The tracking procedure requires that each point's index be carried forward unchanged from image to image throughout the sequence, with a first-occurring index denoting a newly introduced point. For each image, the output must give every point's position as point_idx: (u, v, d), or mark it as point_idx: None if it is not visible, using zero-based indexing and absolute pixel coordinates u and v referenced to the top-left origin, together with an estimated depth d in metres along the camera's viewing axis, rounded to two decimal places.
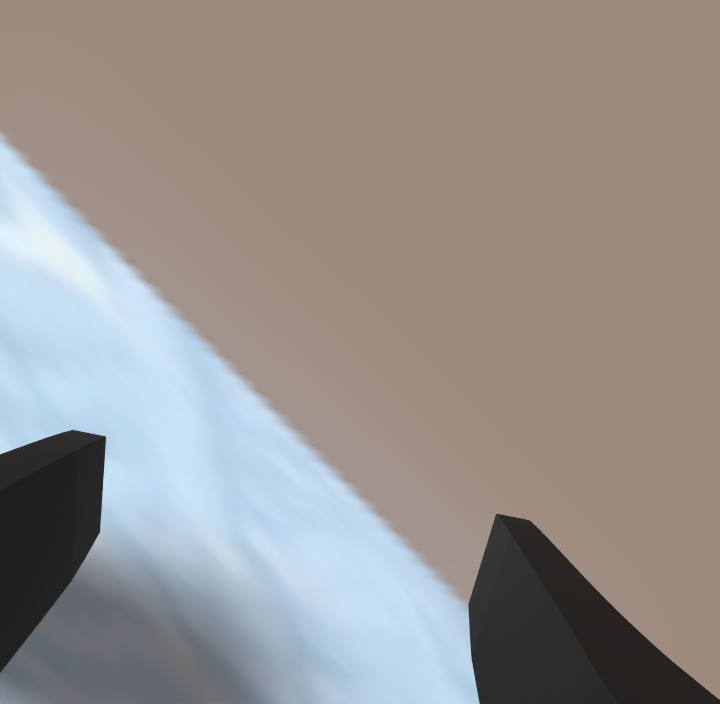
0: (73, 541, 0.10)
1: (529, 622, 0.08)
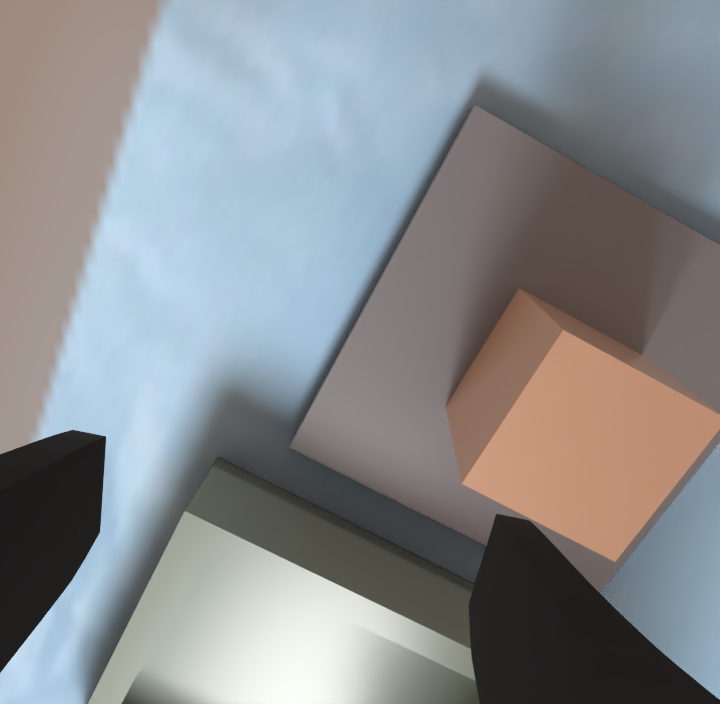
0: (73, 541, 0.10)
1: (529, 622, 0.08)
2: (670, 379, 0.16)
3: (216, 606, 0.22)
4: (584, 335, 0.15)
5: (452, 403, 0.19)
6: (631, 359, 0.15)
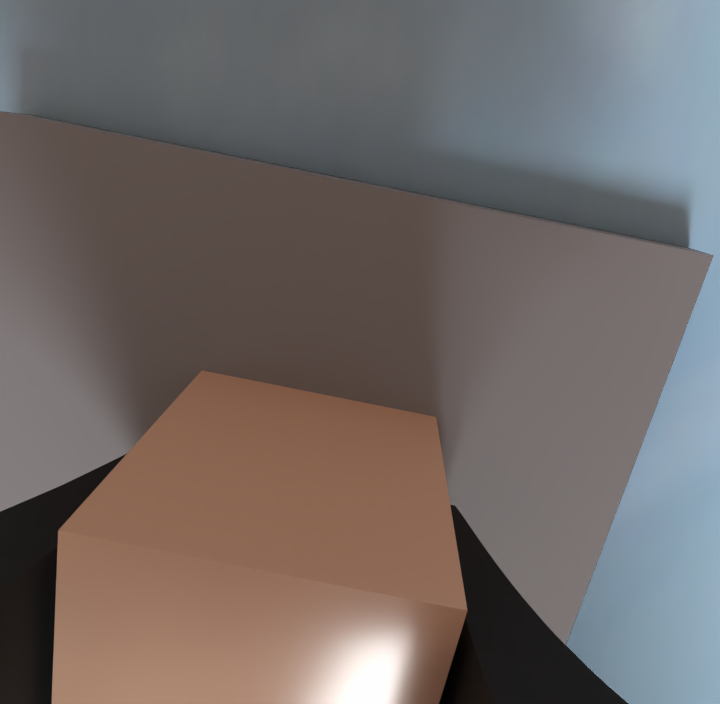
0: None
1: None
2: (415, 497, 0.08)
3: None
4: (190, 485, 0.08)
5: None
6: (318, 490, 0.08)
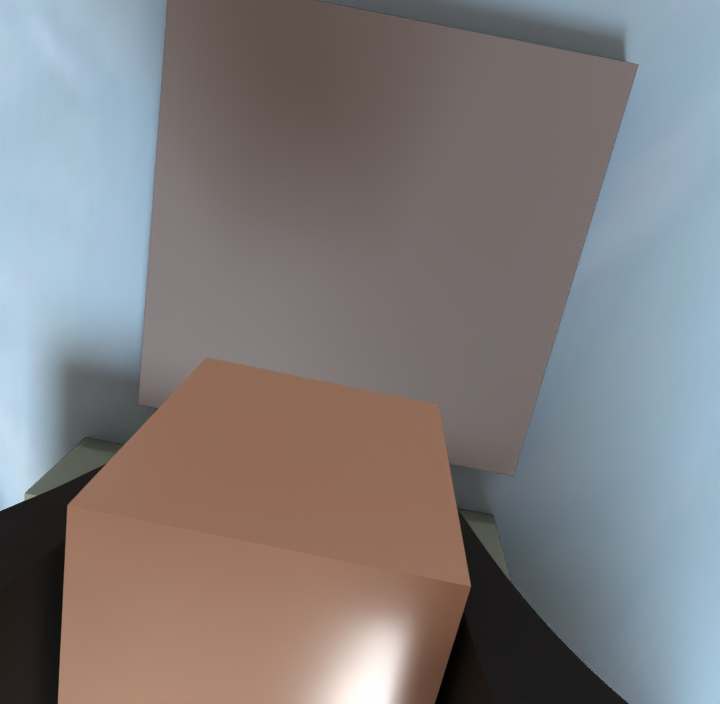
0: None
1: None
2: (418, 479, 0.08)
3: None
4: (196, 465, 0.08)
5: None
6: (322, 471, 0.08)
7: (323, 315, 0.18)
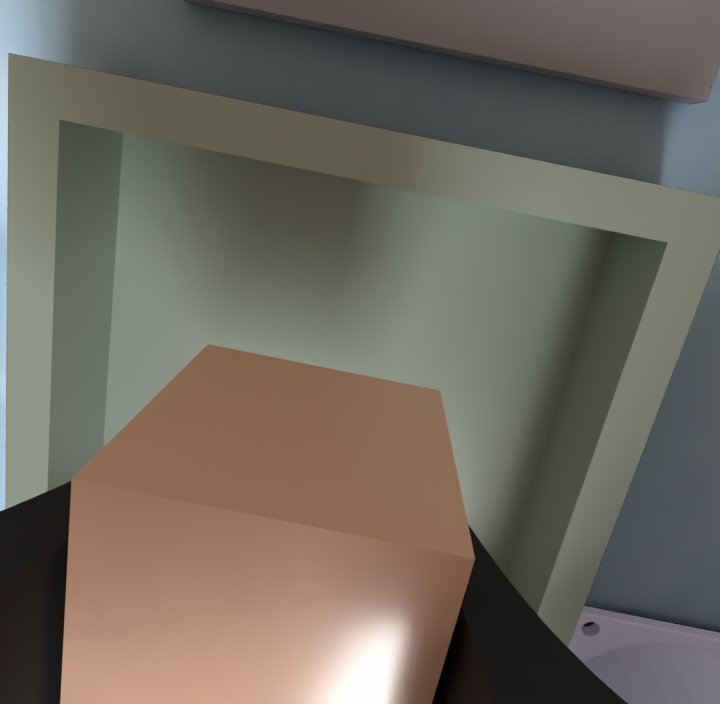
0: None
1: None
2: (421, 459, 0.08)
3: (168, 310, 0.16)
4: (199, 443, 0.08)
5: None
6: (325, 451, 0.08)
7: None
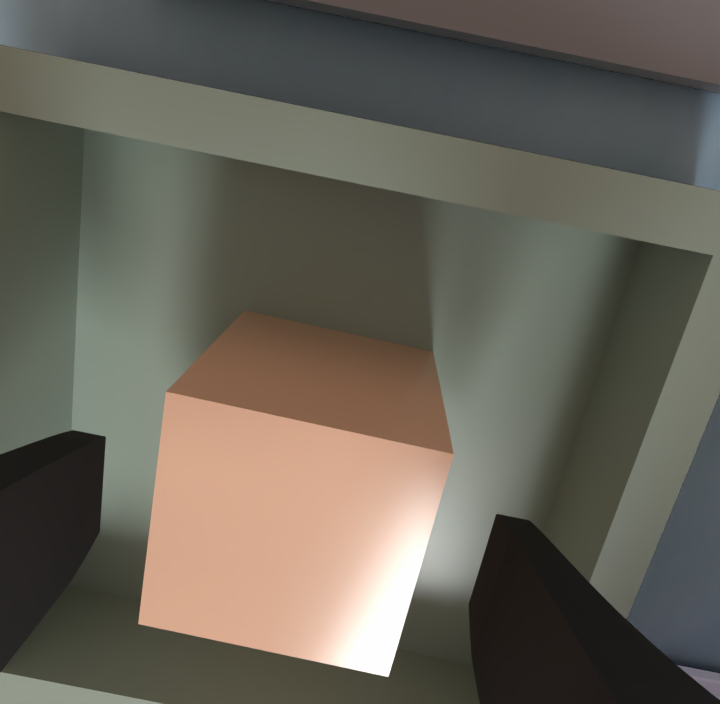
0: (73, 541, 0.10)
1: (529, 622, 0.08)
2: (416, 395, 0.11)
3: (138, 327, 0.14)
4: (250, 376, 0.10)
5: None
6: (344, 386, 0.11)
7: None
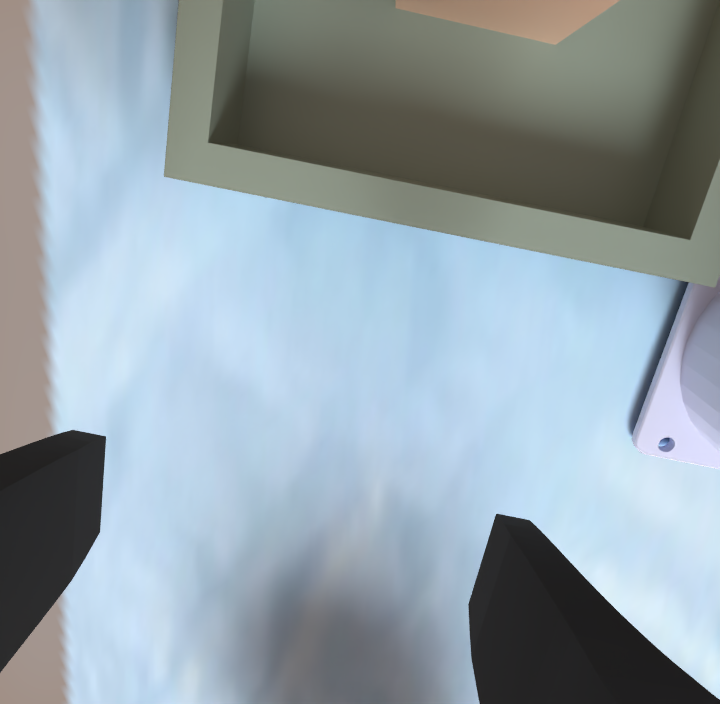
0: (73, 541, 0.10)
1: (529, 622, 0.08)
2: None
3: None
4: None
5: None
6: None
7: None
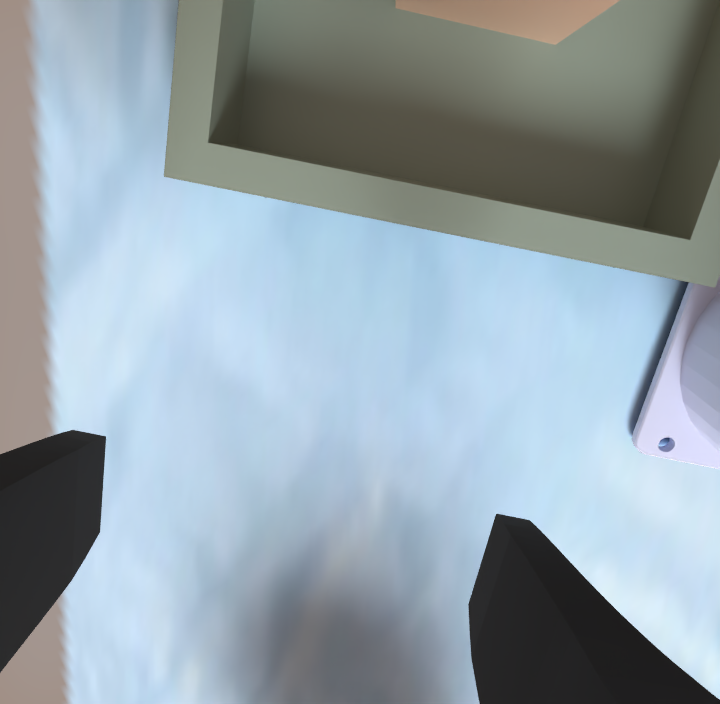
0: (73, 541, 0.10)
1: (529, 622, 0.08)
2: None
3: None
4: None
5: None
6: None
7: None
